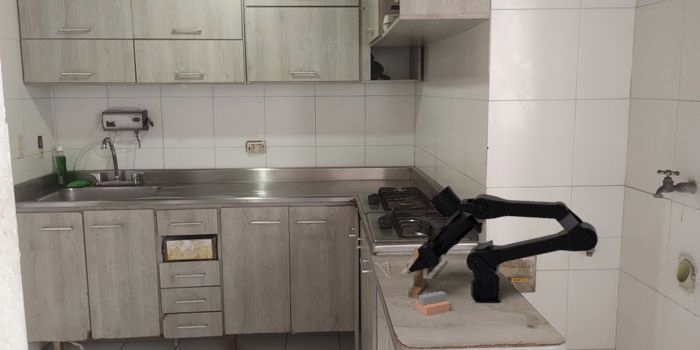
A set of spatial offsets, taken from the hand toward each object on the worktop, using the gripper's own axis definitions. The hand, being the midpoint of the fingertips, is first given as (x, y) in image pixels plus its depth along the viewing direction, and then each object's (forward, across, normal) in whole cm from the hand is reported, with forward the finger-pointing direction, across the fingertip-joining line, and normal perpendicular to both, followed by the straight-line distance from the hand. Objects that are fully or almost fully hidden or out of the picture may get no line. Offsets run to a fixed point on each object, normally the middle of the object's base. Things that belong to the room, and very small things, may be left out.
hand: (413, 266), depth 155 cm
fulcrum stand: (-1, +12, +10) cm, 16 cm away
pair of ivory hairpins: (+13, -12, -3) cm, 18 cm away
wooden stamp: (+4, 0, +6) cm, 7 cm away
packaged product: (+6, -20, +4) cm, 21 cm away
